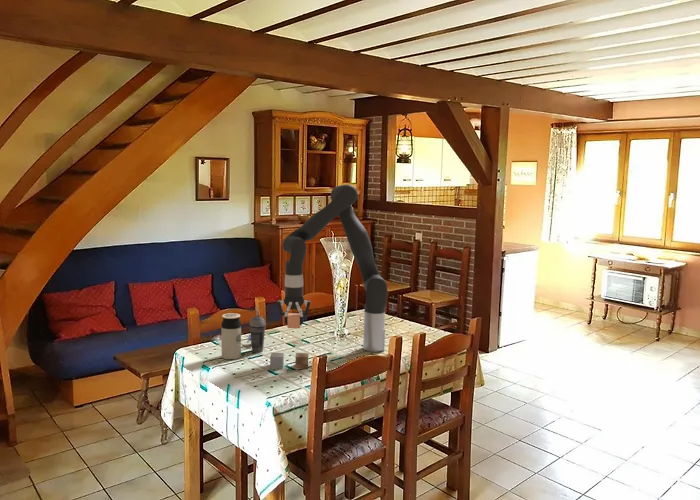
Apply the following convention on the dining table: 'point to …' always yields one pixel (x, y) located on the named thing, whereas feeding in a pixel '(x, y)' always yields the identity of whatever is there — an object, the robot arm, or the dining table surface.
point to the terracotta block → (293, 320)
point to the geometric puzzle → (249, 337)
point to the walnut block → (301, 361)
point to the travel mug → (231, 336)
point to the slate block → (276, 360)
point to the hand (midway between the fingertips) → (293, 324)
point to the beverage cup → (257, 333)
